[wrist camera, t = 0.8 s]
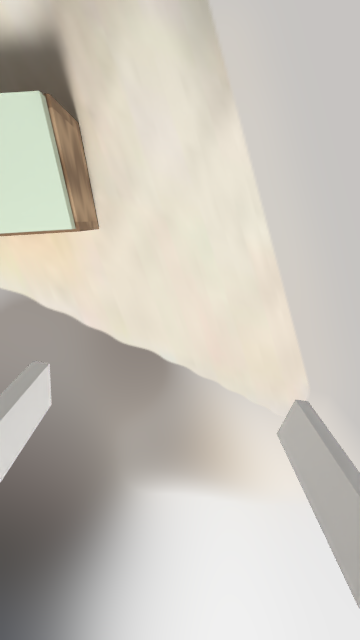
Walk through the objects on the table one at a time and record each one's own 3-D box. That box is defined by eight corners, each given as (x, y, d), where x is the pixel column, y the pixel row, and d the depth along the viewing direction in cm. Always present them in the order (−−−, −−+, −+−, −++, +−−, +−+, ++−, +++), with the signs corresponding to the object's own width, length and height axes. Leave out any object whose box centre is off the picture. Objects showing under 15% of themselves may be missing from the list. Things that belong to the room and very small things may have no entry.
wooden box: (-69, 132, 27) (-143, 105, 21) (78, 123, 27) (49, 93, 21) (-26, 236, 32) (-75, 240, 26) (98, 228, 32) (80, 231, 26)
